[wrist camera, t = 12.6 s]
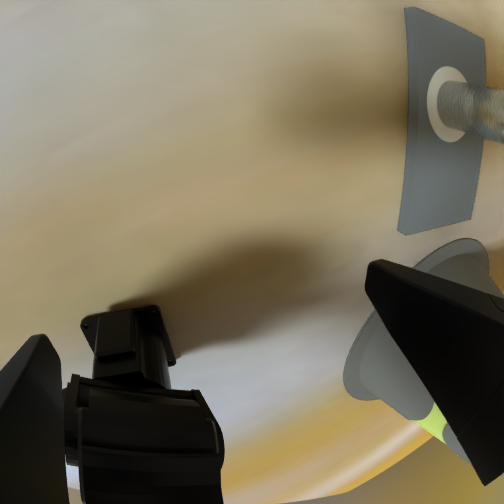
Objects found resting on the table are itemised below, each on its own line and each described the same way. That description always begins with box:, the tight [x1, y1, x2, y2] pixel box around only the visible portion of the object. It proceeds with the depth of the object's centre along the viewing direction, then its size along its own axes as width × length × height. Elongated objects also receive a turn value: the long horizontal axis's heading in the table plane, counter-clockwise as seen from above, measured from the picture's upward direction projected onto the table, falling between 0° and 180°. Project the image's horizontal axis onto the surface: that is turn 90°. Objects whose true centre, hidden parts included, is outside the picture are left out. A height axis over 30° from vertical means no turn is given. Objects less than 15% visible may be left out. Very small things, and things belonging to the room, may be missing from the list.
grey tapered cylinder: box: [343, 238, 504, 475], centre depth 27 cm, size 28×28×24 cm
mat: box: [397, 7, 486, 236], centre depth 22 cm, size 20×11×1 cm, turn 4°
